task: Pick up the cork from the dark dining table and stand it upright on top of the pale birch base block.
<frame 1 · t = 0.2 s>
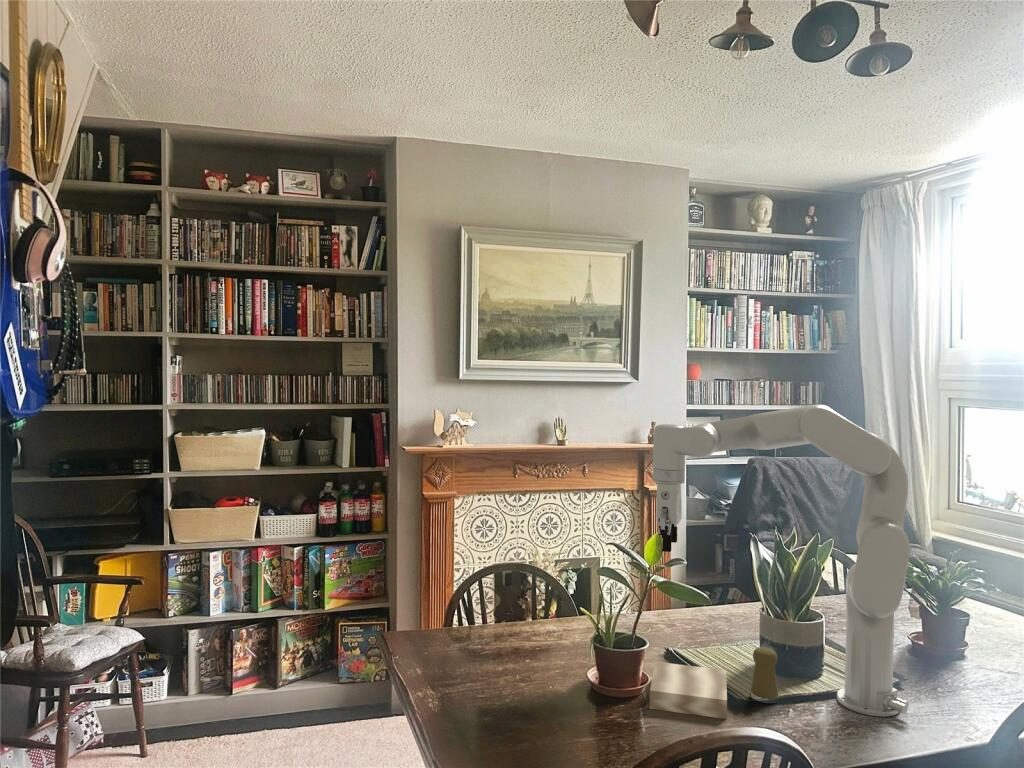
hand: (667, 546, 176), 31 cm above the table, tool pointing down, fingers open, 9 cm apart
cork: (764, 698, 163), on the table
birch base: (689, 697, 163), on the table
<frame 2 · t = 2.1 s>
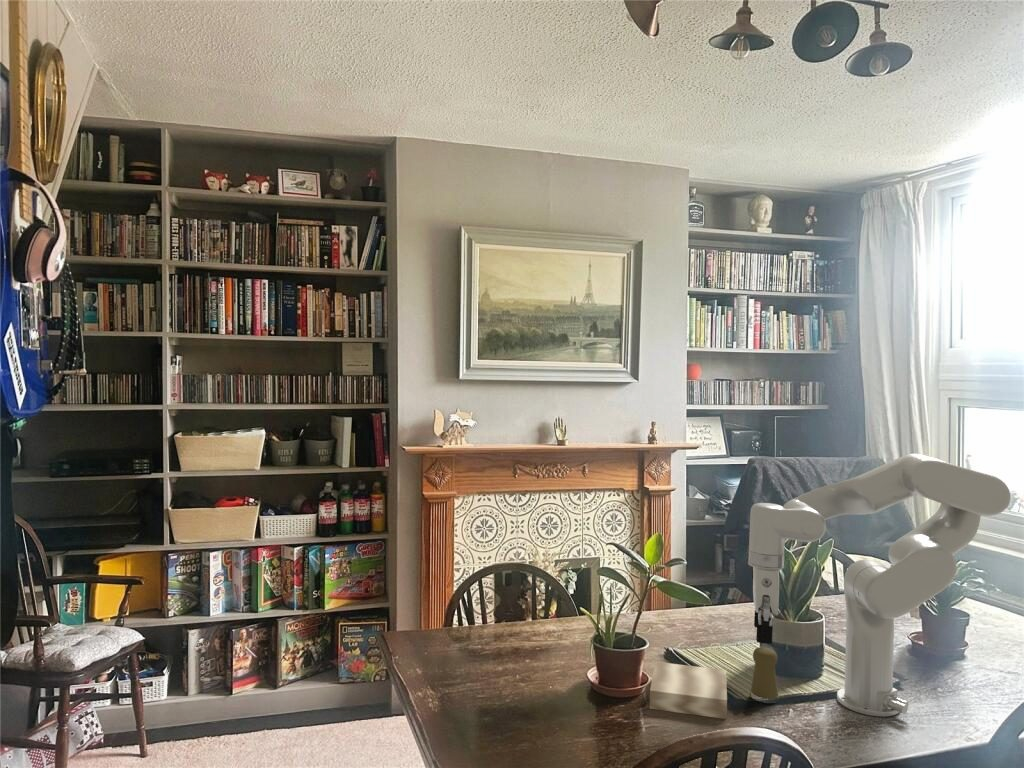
hand: (762, 635, 163), 14 cm above the table, tool pointing down, fingers open, 9 cm apart
nothing on the table moved.
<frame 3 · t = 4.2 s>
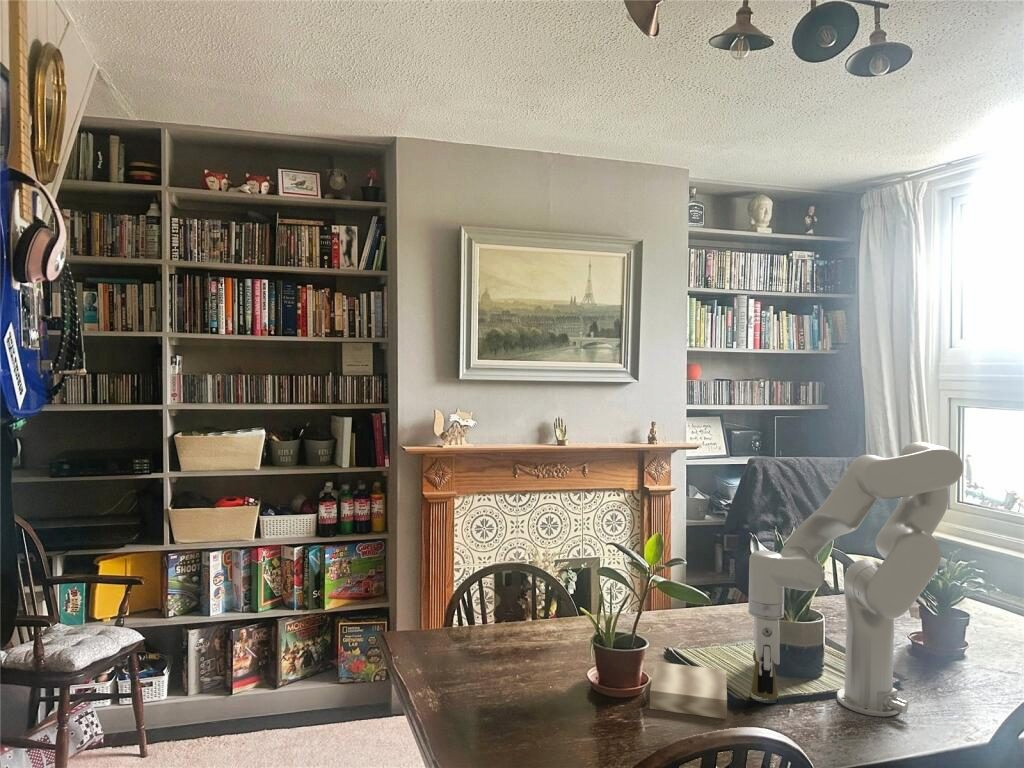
hand: (764, 687, 163), 2 cm above the table, tool pointing down, fingers closed on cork, 4 cm apart
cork: (764, 698, 163), on the table, touching gripper
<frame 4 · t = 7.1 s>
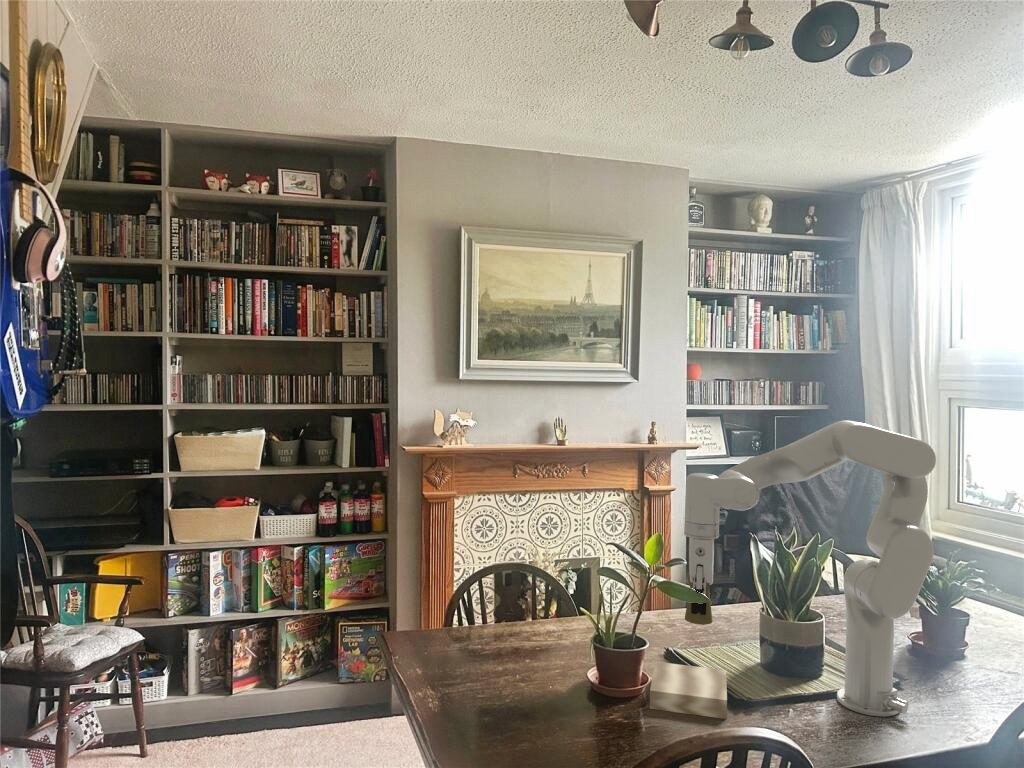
hand: (698, 609, 163), 20 cm above the table, tool pointing down, fingers closed on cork, 4 cm apart
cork: (698, 620, 163), point 17 cm above the table, touching gripper
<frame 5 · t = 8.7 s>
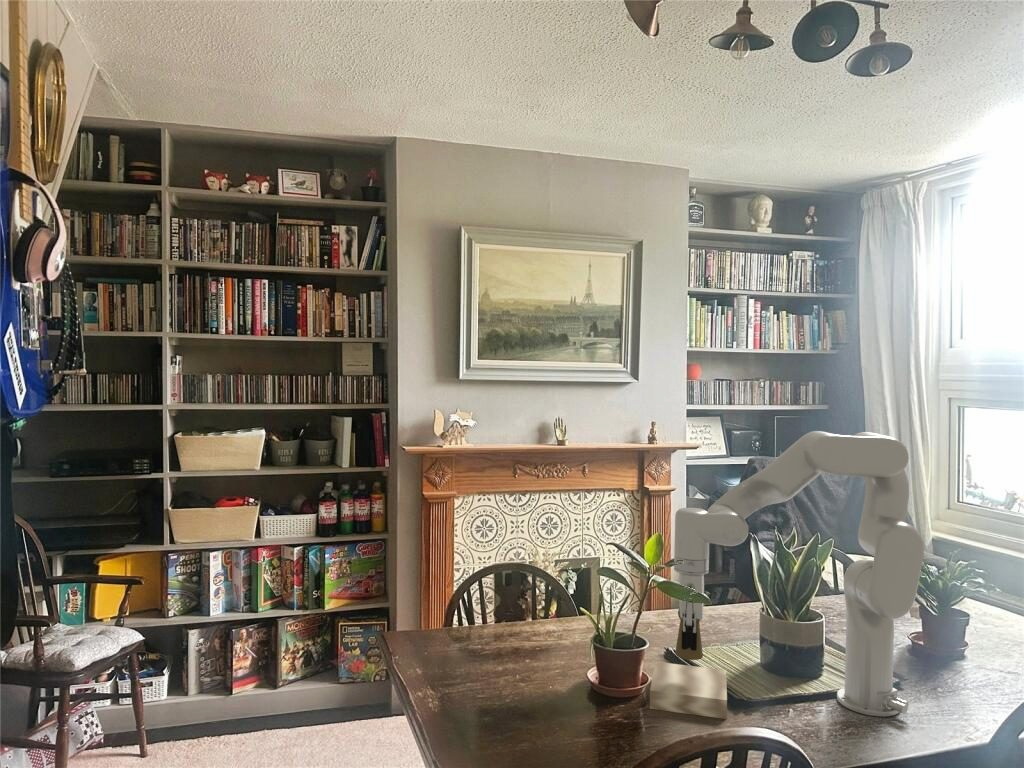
hand: (689, 644, 163), 12 cm above the table, tool pointing down, fingers closed on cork, 4 cm apart
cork: (689, 655, 163), point 9 cm above the table, touching gripper
when the fingers open (8 cm above the table, at t = 10.2 s): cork drops 1 cm, resting on birch base.
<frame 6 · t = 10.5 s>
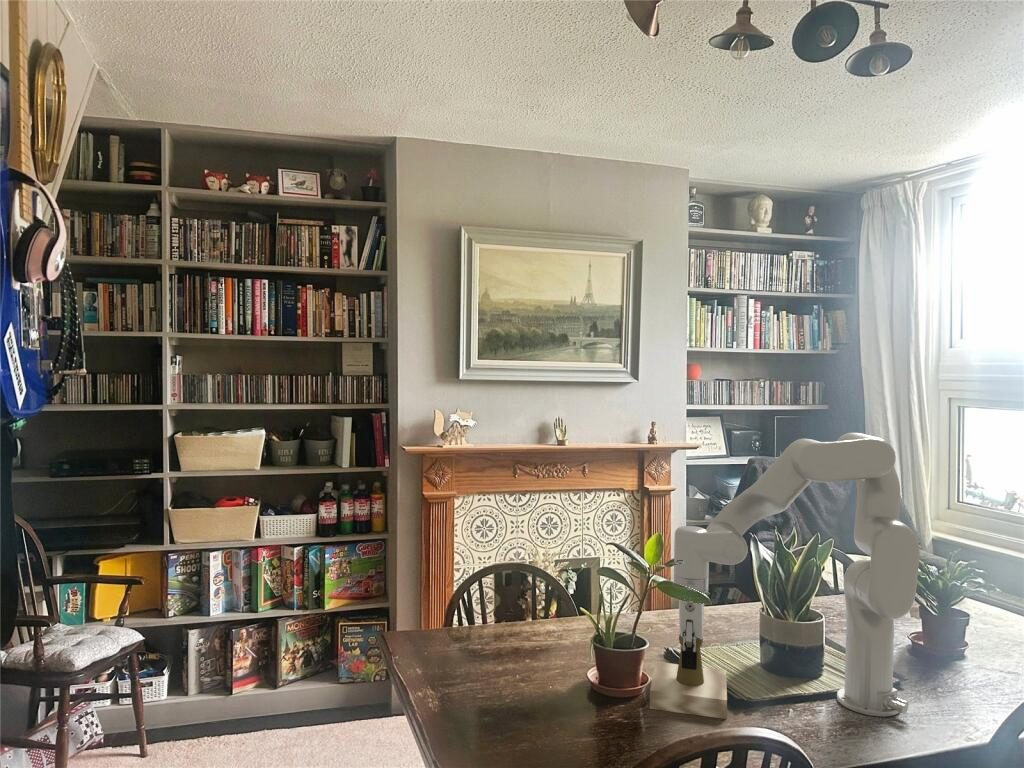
hand: (689, 661, 163), 8 cm above the table, tool pointing down, fingers open, 6 cm apart
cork: (690, 681, 163), point 4 cm above the table, touching birch base
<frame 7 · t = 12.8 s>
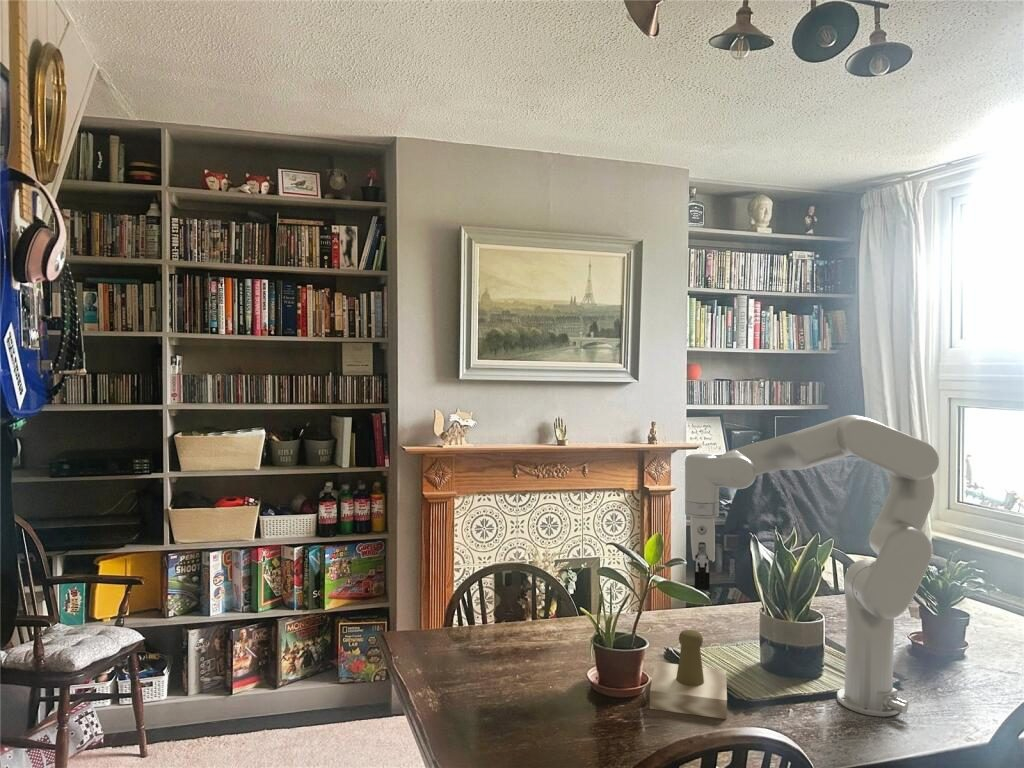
hand: (701, 583, 166), 25 cm above the table, tool pointing down, fingers open, 9 cm apart
nothing on the table moved.
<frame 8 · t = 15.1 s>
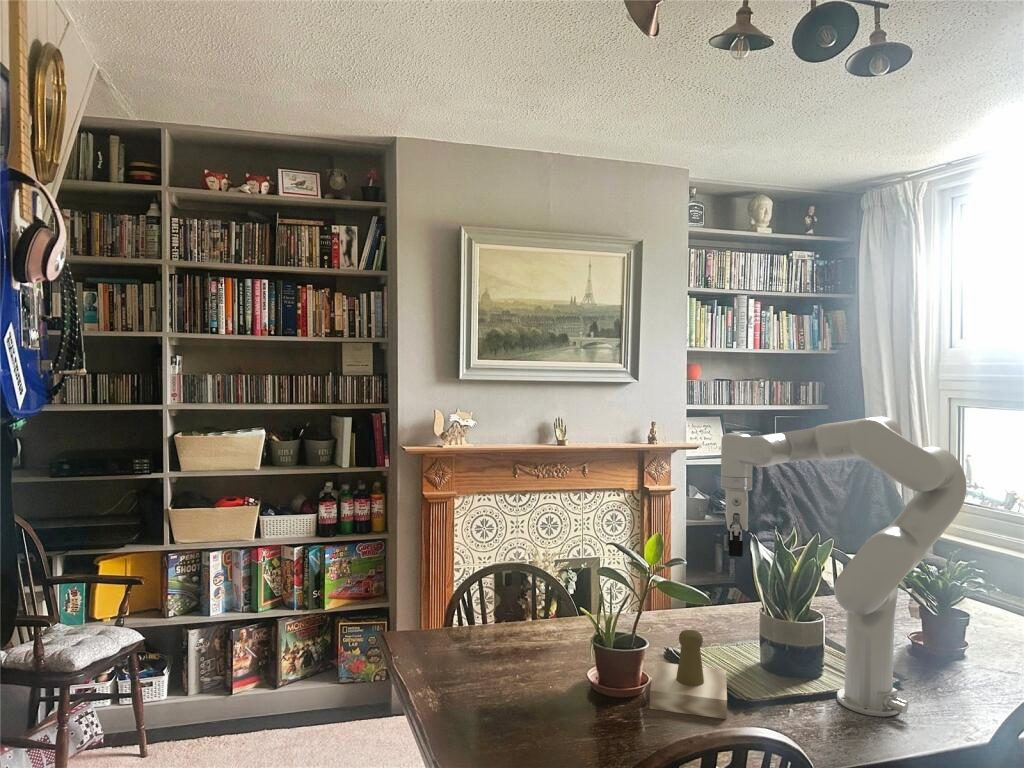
hand: (735, 551, 182), 28 cm above the table, tool pointing down, fingers open, 9 cm apart
nothing on the table moved.
at the end: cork inside the target area on the birch base (0.3 cm from its centre), point 3.8 cm above the birch base's base; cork tilted 0°; the gripper is holding nothing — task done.
